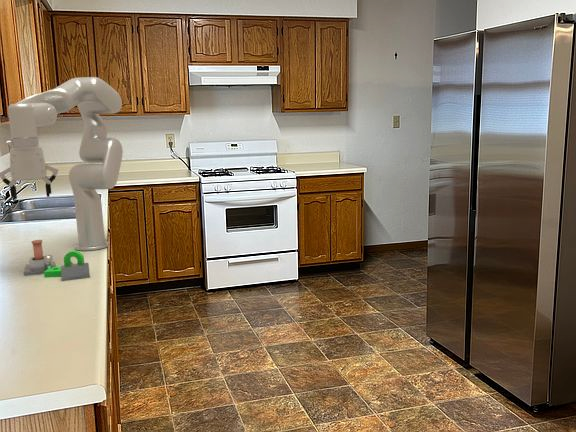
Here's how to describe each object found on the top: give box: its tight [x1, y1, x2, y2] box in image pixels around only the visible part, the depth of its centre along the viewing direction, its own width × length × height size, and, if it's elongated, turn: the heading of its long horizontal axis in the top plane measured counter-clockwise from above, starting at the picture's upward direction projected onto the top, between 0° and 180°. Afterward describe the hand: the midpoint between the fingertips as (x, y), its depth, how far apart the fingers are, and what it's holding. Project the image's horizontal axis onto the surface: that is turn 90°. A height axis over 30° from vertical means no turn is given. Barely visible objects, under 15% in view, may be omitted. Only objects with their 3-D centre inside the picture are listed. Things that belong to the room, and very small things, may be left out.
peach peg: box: [31, 239, 44, 260], centre depth 186 cm, size 3×3×9 cm
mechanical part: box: [43, 249, 85, 278], centre depth 181 cm, size 12×6×8 cm, turn 92°
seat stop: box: [60, 262, 91, 282], centre depth 176 cm, size 3×8×4 cm, turn 110°
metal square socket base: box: [23, 254, 56, 277], centre depth 186 cm, size 10×9×5 cm
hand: (31, 197), depth 183 cm, fingers open, 9 cm apart
